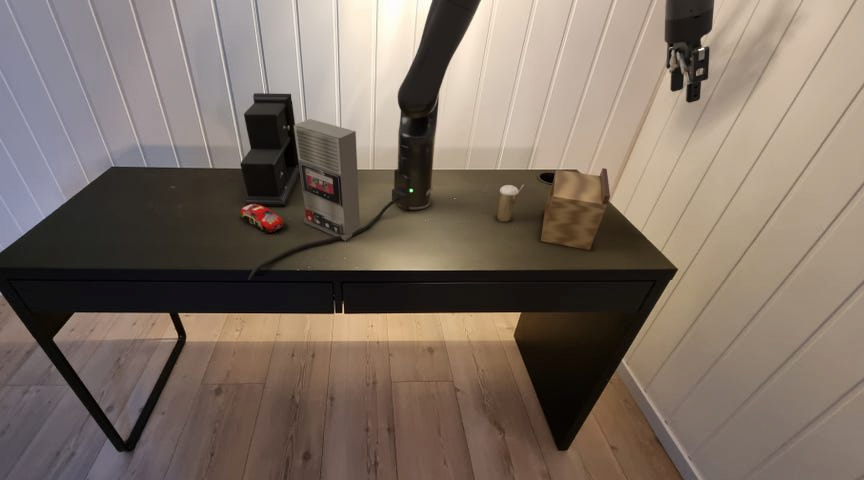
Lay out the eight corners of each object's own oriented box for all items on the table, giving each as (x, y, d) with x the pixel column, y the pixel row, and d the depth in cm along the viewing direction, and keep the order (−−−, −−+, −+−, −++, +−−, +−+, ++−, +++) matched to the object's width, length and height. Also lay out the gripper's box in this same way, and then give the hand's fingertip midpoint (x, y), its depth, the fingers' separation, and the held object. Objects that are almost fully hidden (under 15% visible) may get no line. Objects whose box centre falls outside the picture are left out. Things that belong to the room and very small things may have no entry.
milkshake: (516, 224, 104) (524, 188, 98) (494, 222, 105) (501, 186, 99) (515, 215, 108) (523, 180, 101) (494, 213, 108) (501, 178, 102)
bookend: (285, 207, 111) (270, 120, 97) (245, 206, 112) (225, 119, 97) (302, 170, 130) (291, 93, 115) (268, 170, 130) (254, 92, 115)
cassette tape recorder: (304, 223, 104) (290, 125, 89) (320, 214, 108) (310, 118, 93) (344, 242, 98) (336, 139, 82) (360, 231, 102) (356, 131, 86)
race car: (288, 228, 103) (285, 214, 100) (270, 237, 100) (267, 223, 97) (257, 210, 110) (254, 197, 107) (239, 218, 106) (236, 205, 104)
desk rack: (540, 241, 98) (555, 188, 90) (544, 211, 109) (558, 162, 101) (589, 250, 95) (610, 196, 86) (588, 219, 106) (606, 168, 97)
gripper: (653, 13, 84) (652, 92, 93) (680, 22, 73) (676, 111, 82) (696, -1, 82) (691, 81, 90) (730, 6, 71) (721, 99, 79)
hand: (684, 95), depth 86 cm, fingers open, 8 cm apart
